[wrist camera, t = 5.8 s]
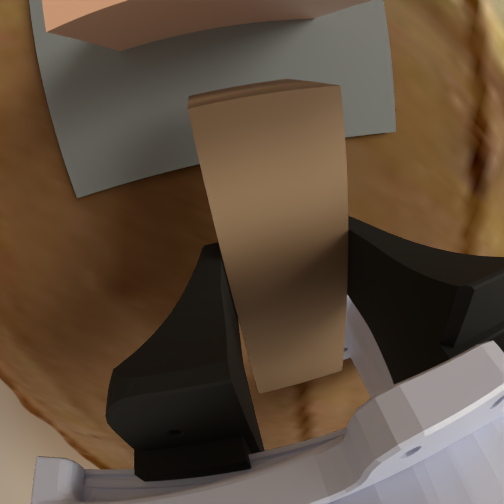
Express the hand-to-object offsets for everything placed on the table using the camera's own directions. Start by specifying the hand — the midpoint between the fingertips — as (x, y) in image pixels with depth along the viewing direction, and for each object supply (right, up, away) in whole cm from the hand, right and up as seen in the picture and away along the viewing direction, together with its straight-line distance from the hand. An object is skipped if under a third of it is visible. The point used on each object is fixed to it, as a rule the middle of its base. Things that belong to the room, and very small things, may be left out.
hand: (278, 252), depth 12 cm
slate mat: (-3, +14, 0) cm, 14 cm away
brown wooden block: (-1, +2, +3) cm, 3 cm away
